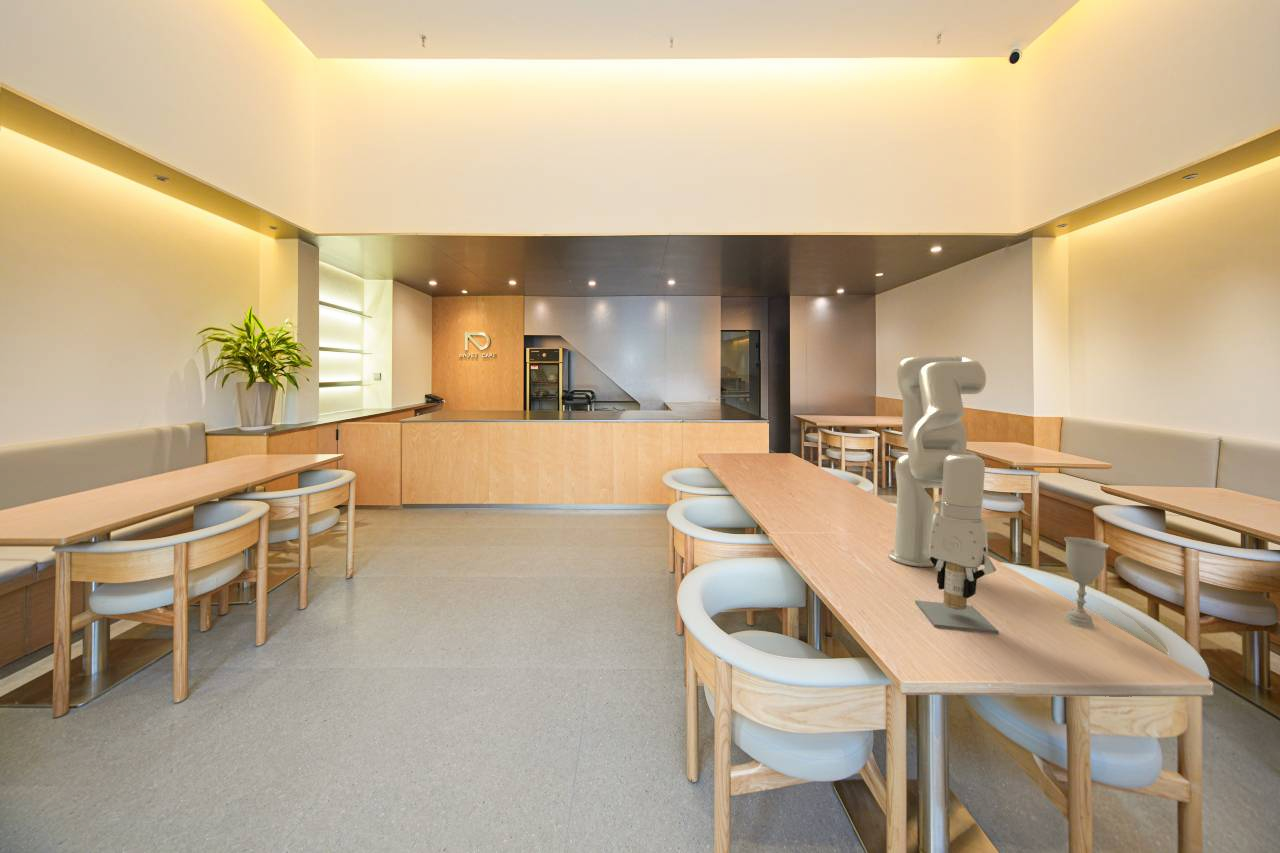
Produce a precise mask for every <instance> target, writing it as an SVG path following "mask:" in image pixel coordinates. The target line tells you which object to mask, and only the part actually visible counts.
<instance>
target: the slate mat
mask: <svg viewBox="0 0 1280 853" xmlns="http://www.w3.org/2000/svg"><path fill="white" fill-rule="evenodd" d="M914 601H915V602H914V603H915V605H916V606H917V607H918V609H919V610H921V612H922V613H923V614H924V616H925V617H926V618H927V619H928V621H929V622H930V624H932V626H933V627H934V628H939V629H940V628H941V629H949V630H957V631H968V632H979V633H987V634H997V635H998V634H999V629H997V628H996V627H995V626H994V625H993V624H992V623H991V622H990V621H989V620H988V619H987V618H986V617H985V616H983V614H982V613H981V612H980V611H978V610H977V609H976V607H974V606H973V605H968V604H966V605H967V608H966V609H964V610H956V609H952V608H949V607H947V606H945V605H944V604H943V602H935V601H927V600H917V599H916V600H914Z"/></svg>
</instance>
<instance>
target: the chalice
mask: <svg viewBox="0 0 1280 853" xmlns="http://www.w3.org/2000/svg"><path fill="white" fill-rule="evenodd" d="M1063 540H1064V541H1065V543H1066V544H1065V556H1064V557H1065V559H1064V561H1065V563H1066V567H1067V569H1068V571H1069V573H1070V576H1071V577H1072V579H1073V581H1074V582H1076V583H1078V588H1077V590H1076V593H1077V595H1078V596H1077V598H1075V601H1076V604H1077V605H1076V608H1074V609H1070V610H1069V611H1068V612H1067V613H1066V614H1065V616H1064V617H1063V620H1064V622H1066V623H1068V624H1070V625H1073V626H1076V627H1080V628H1084V629H1085V628H1086V629H1094V628H1096V626H1094V625H1095V624H1094V622H1093V619H1092V616H1091V614H1089V613H1088V612H1087V611H1086V610H1084V605H1085V604H1086V603H1087V600H1085V596H1086V595H1087V592H1086V586H1088V585H1092V584H1093V583H1094V582H1095V581H1096V579H1097V578H1099V576H1101V573H1102V572H1103V571H1104V568H1105V559H1106V551H1107V550H1108V548H1109V547H1110V545H1109V544H1108V543H1105V542H1103V541H1099V540H1096V539H1090V538H1085V537H1077V536H1065V537H1063Z"/></svg>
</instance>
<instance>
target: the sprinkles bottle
mask: <svg viewBox="0 0 1280 853" xmlns="http://www.w3.org/2000/svg"><path fill="white" fill-rule="evenodd" d="M966 579H967V573H966V568H965V567H963V566H960V565H956V564H953V563H949V562H946V567H945V581H944V589H943V600H942V603H943V604H944V605H945V606H947V607H949V608H952V609H956V610H964V609H966V608H967V605H968V604H967V603H968V602H967V600H968V598H964V597H963V593H964V580H966Z"/></svg>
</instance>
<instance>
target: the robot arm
mask: <svg viewBox="0 0 1280 853" xmlns="http://www.w3.org/2000/svg"><path fill="white" fill-rule="evenodd" d="M896 377H897V384H898V389H899V390H900V393H901V398H902V404H903V408H902V409H903V410H902V427H901V428H902V430H901V432H902V433H901V435H902V437H901V439H902V443H903V445H904V447H907V454H904V455H901V456H899V457H898V458H897V459H896V461H895V465H894V468H895V471H894V472H895V478H896V479H895V480H896V488H897V489H896V510H895V527H894V528H895V529H894V530H895V531H894V546H893V547H894V548H893V549H891V550H889V551H888V553H887V555H888V558H889V559H891V560H893V561H894V562H897V563H899V564H901V565H902V564H903V565H907V566H912V567H921V568H922V567H923V568H924V567H925V568H927V567H928V568H929V567H935V568H934V569H935V570H936V571H937V577H936V579H937V580H936V583H937V585H938V586H937V588H938V590H940V591H942V590H944V581H945V567H946V562H949V563H953V564H956V565H960V566H963V567H965V568H966V573H967V579H966V580H964V593H963V597H964V598H967V599H969V598H971V597H973V596H975V595H976V593H977V592H976V590H977V580H978V579H981V577H985V576H987V575H989V574H994V573H995V572H996V571H997V567H996V566H995V565H994V563H993V562H992V560H991V559H990V557H989V555H988V551H989V549H988V548H989V545H988V531H987V526H986V521H985V520H983V519H982V517H983V516H982V514H983V500H984V489H985V488H984V486H985V472H986V462H985V460H984V459H983V458H982V457H980V456H978V455H977V454H976V453H975V452H972V451H970V450H969V451H968V450H967V441H968V440H967V439H968V438H967V437H968V436H967V429H966V426H965V424H964V423H963V421H962V419H963V417H964V414H965V408H964V404H963V400H962V395H978V394H980V393H981V392H982V391H984V389H985V388H986V387H985V386H986V383H987V375H986V370H985V369H984V367H983V366H982V364H981V363H980V362H979V361H977V360H975V359H973V358H970V357H968V356H963V355H962V356H961V355H959V356H958V355H955V356H953V355H951V356H949V355H947V356H944V355H943V356H942V355H941V356H940V355H939V356H938V355H937V356H935V355H934V356H933V355H932V356H931V355H927V356H925V355H924V356H923V355H921V356H911V357H907V358H904V359H902V360H901V361H900V362H899V363H898V365H897V369H896ZM926 488H927V489H930V488H935V489H941V496H940V497H941V498H940V501H935V502H934V501H933V498H932V497H931V496H930V495H929V493H928V492H927V491H926V490H925V489H926ZM935 508H938V509H939V512H938V513H936V514H935V516H934V509H935ZM981 566H983V568H982V569H979V567H981Z"/></svg>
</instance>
